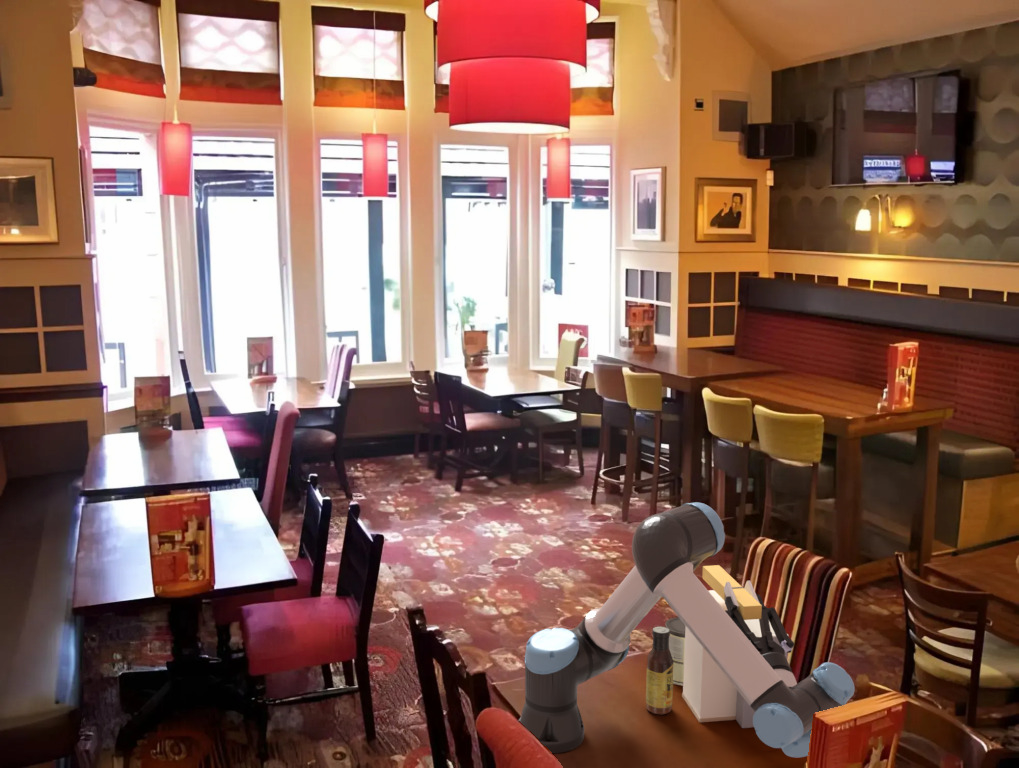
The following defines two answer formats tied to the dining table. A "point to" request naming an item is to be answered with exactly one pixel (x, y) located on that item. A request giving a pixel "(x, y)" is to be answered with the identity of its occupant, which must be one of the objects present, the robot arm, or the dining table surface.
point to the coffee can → (677, 648)
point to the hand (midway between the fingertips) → (736, 585)
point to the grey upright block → (742, 707)
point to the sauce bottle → (659, 673)
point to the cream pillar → (707, 681)
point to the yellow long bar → (717, 581)
